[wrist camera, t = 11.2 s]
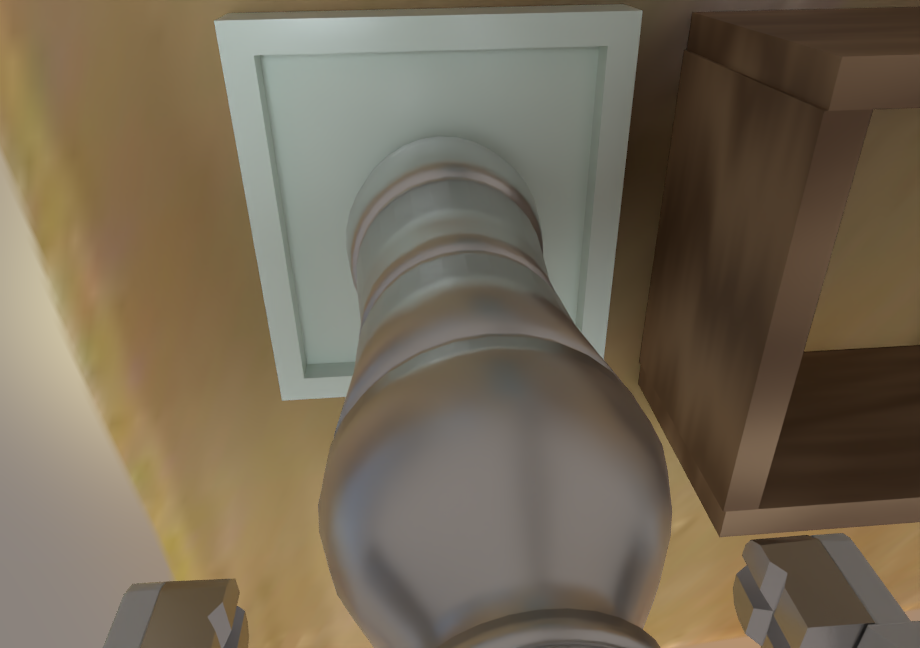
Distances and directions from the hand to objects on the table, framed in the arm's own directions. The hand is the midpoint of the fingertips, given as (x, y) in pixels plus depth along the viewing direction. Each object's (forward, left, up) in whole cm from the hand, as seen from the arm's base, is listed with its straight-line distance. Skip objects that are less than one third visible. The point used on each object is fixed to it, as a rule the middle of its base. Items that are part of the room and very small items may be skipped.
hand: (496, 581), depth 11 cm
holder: (+1, +16, -17) cm, 24 cm away
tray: (0, 0, -17) cm, 17 cm away
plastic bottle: (0, 0, -17) cm, 17 cm away
